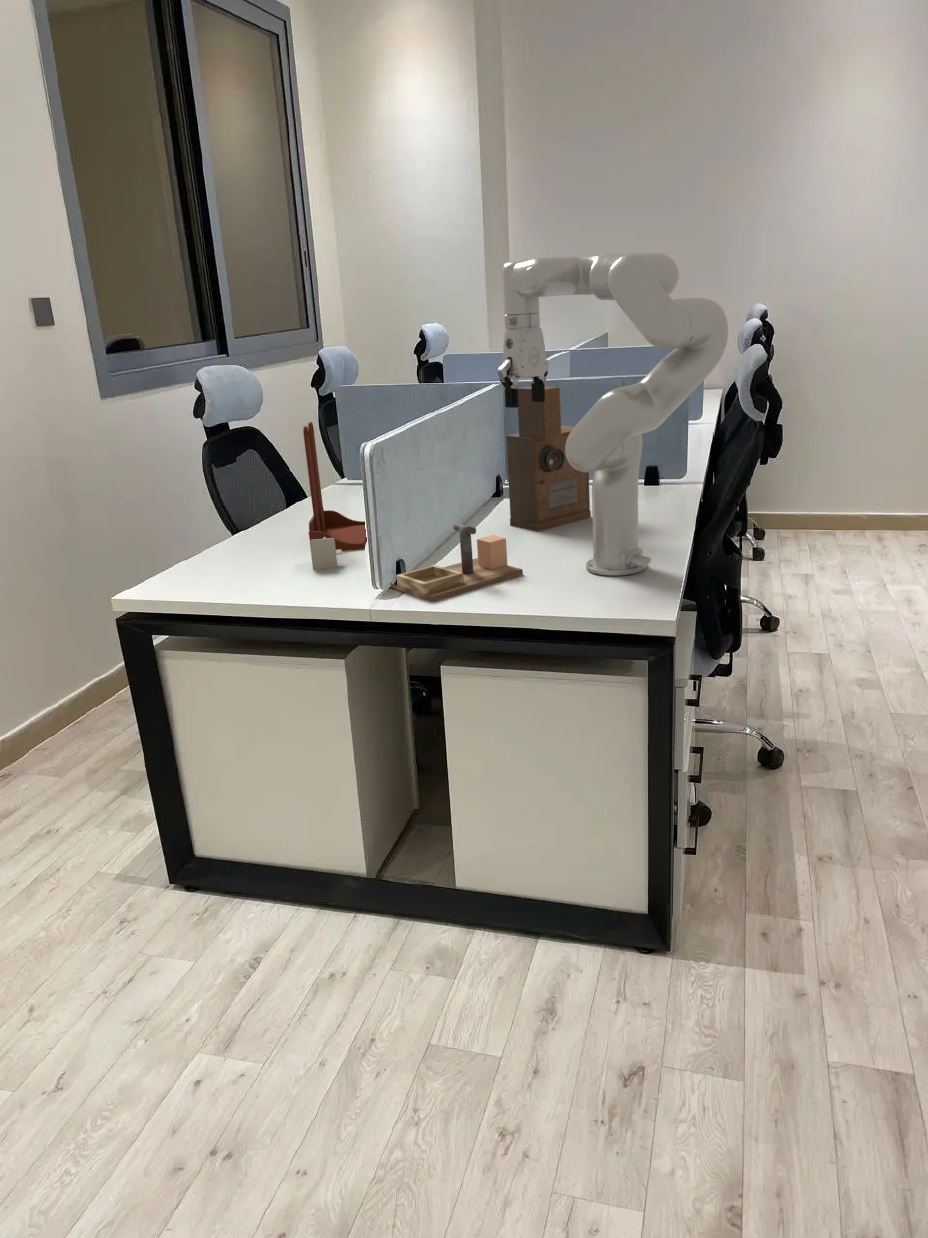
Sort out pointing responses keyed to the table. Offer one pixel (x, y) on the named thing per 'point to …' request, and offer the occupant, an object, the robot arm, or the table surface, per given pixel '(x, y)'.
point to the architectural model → (324, 553)
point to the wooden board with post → (453, 574)
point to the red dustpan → (329, 522)
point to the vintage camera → (543, 467)
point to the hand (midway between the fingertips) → (525, 404)
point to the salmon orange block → (492, 552)
